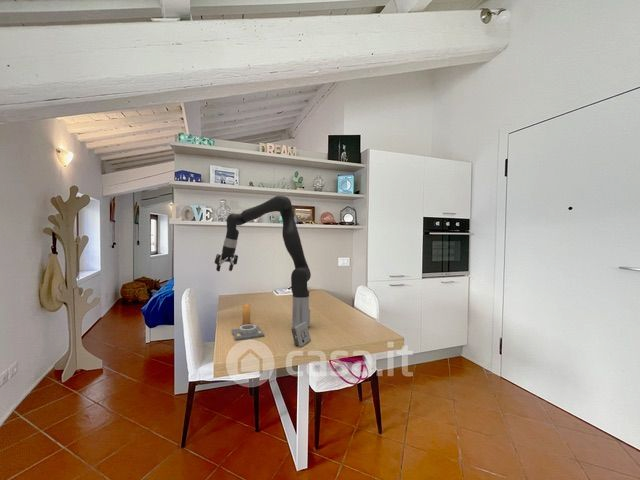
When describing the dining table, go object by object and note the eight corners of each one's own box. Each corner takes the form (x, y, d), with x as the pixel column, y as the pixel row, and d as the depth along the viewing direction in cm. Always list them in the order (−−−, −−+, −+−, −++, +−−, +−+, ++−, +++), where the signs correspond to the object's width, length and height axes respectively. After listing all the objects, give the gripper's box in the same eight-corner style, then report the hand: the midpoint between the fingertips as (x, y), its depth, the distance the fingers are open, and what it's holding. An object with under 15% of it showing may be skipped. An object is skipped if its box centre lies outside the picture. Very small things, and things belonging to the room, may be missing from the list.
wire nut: (249, 322, 159) (249, 303, 159) (251, 324, 155) (251, 305, 155) (241, 323, 157) (241, 304, 157) (243, 325, 153) (243, 306, 153)
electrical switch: (300, 347, 124) (299, 327, 124) (291, 346, 127) (290, 326, 127) (311, 341, 132) (309, 321, 133) (302, 340, 135) (300, 321, 135)
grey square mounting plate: (258, 327, 150) (258, 321, 150) (264, 336, 137) (264, 329, 137) (231, 331, 144) (231, 324, 144) (235, 340, 131) (235, 333, 131)
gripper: (223, 246, 158) (217, 273, 160) (243, 247, 170) (237, 272, 171) (216, 243, 163) (210, 269, 164) (236, 244, 174) (230, 268, 176)
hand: (224, 270), depth 168 cm, fingers open, 8 cm apart
